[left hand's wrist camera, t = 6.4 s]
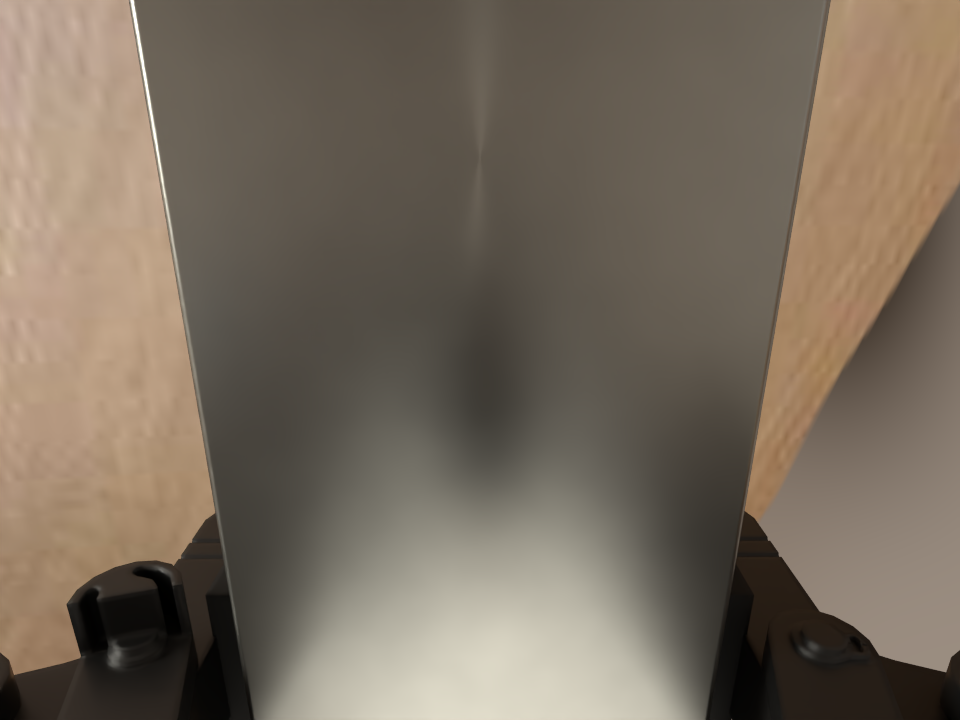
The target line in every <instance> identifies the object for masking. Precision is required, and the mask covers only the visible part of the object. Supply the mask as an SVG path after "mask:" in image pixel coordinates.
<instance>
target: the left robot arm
mask: <svg viewBox="0 0 960 720" xmlns="http://www.w3.org/2000/svg"><path fill="white" fill-rule="evenodd" d="M67 608H68V611H69V615H70V619H71V622H72V626H73V629H74V633H75V636H76V640H77V643H78V647H79V651H80V654H81V658H80V659H76V660H73V661H70V662H67V663H63V664H59V665H55V666H51V667H46V668H42V669H38V670H34V671H30V672H25V673H21V674H17V675H14V674H13V671H12V668H11V665H10V662H9V660H8V659H7V658H6V657H5V656H3V655H2V654H1V653H0V720H251V719H250V713H249V707H248V701H247V696H246V690H245V684H244V678H243V672H242V666H241V660H240V654H239V648H238V642H237V636H236V631H235V625H234V619H233V613H232V607H231V601H230V595H229V589H228V583H227V577H226V571H225V566H224V560H223V554H222V548H221V542H220V536H219V530H218V524H217V518H216V513H215V514H213V515H212V516H211V517H209V518H208V519H206V520H205V522H204V523H203V525H202V526H201V528H200V529H199V530H198V532H197V533H196V535H195V536H194V538H193V539H192V543H189V545H188V546H187V548H186V549H185V551H184V552H183V553H182V555H181V559H178V561H177V562H176V564H175V565H174V566H173V565H172V564H168V563H164V562H160V561H139V562H133V563H129V564H126V565H122V566H118V567H115V568H113V569H110V570H108V571H106V572H104V573H102V574H100V575H98V576H96V577H94V578H92V579H91V580H90V581H88V582H87V583H86V584H84V585H83V586H82V587H80V588H79V589H78V590H77V591H76V592H75V594H74V595H73V596H72V598H71V599H70V600H69V602H68V603H67ZM731 718H732V720H960V651H958V652H957V653H956V654H955V655H954V656H952V657H951V660H950V663H949V666H948V669H947V672H942V671H937V670H933V669H929V668H925V667H920V666H916V665H912V664H908V663H903V662H899V661H895V660H892V659H889V658H885V657H882V656H879V655H878V653H877V651H876V650H875V648H874V647H873V645H872V644H871V642H870V640H868V639H867V638H866V637H865V636H864V635H863V634H861V633H860V632H859V631H858V630H857V629H856V628H854V627H853V626H851V625H850V624H848V623H846V622H844V621H842V620H840V619H838V618H836V617H835V616H832V615H829V614H825V613H822V612H819V610H818V609H817V607H816V606H815V604H814V603H813V602H812V600H811V599H810V597H809V596H808V594H807V593H806V592H805V590H804V589H803V587H802V586H801V584H800V583H799V582H798V580H797V579H796V577H795V576H794V574H793V573H792V572H791V570H790V569H789V567H788V566H787V564H786V563H785V562H784V560H783V559H782V557H779V555H778V551H777V550H776V549H775V547H774V546H773V544H772V543H771V541H768V539H767V536H766V534H765V533H764V531H763V530H762V529H761V527H760V526H759V524H758V523H757V521H756V520H755V518H753V517H752V516H751V515H749V514H748V513H746V512H745V511H744V516H743V522H742V528H741V534H740V540H739V546H738V551H737V557H736V563H735V569H734V575H733V581H732V587H731V593H730V599H729V605H728V611H727V617H726V622H725V628H724V634H723V640H722V646H721V652H720V658H719V664H718V670H717V676H716V682H715V688H714V693H713V699H712V705H711V711H710V717H709V720H731Z"/></svg>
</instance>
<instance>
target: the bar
mask: <svg viewBox="0 0 960 720" xmlns="http://www.w3.org/2000/svg"><path fill="white" fill-rule="evenodd" d="M830 1H831V0H129V4H130V10H131V16H132V22H133V28H134V34H135V39H136V45H137V51H138V57H139V63H140V69H141V75H142V81H143V87H144V93H145V99H146V104H147V110H148V116H149V122H150V128H151V134H152V140H153V146H154V152H155V158H156V164H157V169H158V175H159V181H160V187H161V193H162V199H163V205H164V211H165V217H166V223H167V229H168V235H169V240H170V246H171V252H172V258H173V264H174V270H175V276H176V282H177V288H178V294H179V300H180V305H181V311H182V317H183V323H184V329H185V335H186V341H187V347H188V353H189V359H190V365H191V370H192V376H193V382H194V388H195V394H196V400H197V406H198V412H199V418H200V424H201V430H202V435H203V441H204V447H205V453H206V459H207V465H208V471H209V477H210V483H211V489H212V495H213V500H214V506H215V512H216V518H217V524H218V530H219V536H220V542H221V548H222V554H223V560H224V566H225V571H226V577H227V583H228V589H229V595H230V601H231V607H232V613H233V619H234V625H235V631H236V636H237V642H238V648H239V654H240V660H241V666H242V672H243V678H244V684H245V690H246V696H247V701H248V707H249V713H250V719H251V720H709V717H710V711H711V705H712V699H713V693H714V688H715V682H716V676H717V670H718V664H719V658H720V652H721V646H722V640H723V634H724V628H725V622H726V617H727V611H728V605H729V599H730V593H731V587H732V581H733V575H734V569H735V563H736V557H737V551H738V546H739V540H740V534H741V528H742V522H743V516H744V510H745V504H746V498H747V492H748V486H749V480H750V474H751V469H752V463H753V457H754V451H755V445H756V439H757V433H758V427H759V421H760V415H761V409H762V403H763V398H764V392H765V386H766V380H767V374H768V368H769V362H770V356H771V350H772V344H773V338H774V332H775V327H776V321H777V315H778V309H779V303H780V297H781V291H782V285H783V279H784V273H785V267H786V261H787V256H788V250H789V244H790V238H791V232H792V226H793V220H794V214H795V208H796V202H797V196H798V190H799V185H800V179H801V173H802V167H803V161H804V155H805V149H806V143H807V137H808V131H809V125H810V119H811V114H812V108H813V102H814V96H815V90H816V84H817V78H818V72H819V66H820V60H821V54H822V48H823V43H824V37H825V31H826V25H827V19H828V13H829V7H830Z"/></svg>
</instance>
